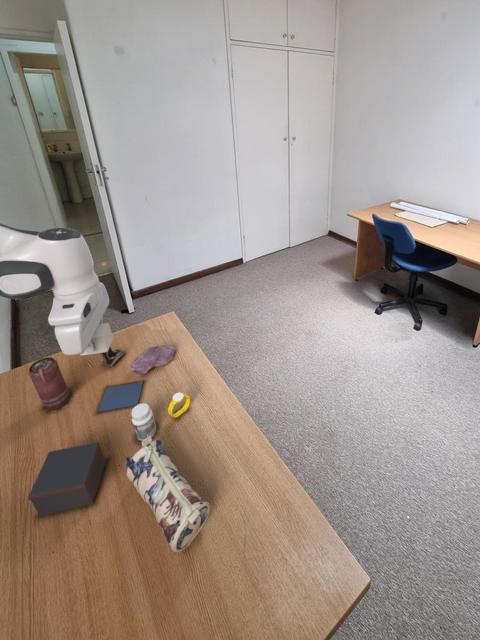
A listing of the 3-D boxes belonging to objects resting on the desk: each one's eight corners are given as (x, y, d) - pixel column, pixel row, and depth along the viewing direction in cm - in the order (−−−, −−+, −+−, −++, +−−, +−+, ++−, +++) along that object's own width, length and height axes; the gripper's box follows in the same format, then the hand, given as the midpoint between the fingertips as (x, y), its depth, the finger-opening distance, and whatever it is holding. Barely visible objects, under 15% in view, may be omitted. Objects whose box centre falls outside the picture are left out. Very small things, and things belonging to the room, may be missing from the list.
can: (46, 416, 88) (28, 378, 82) (43, 400, 92) (26, 363, 86) (72, 403, 91) (57, 366, 85) (68, 388, 95) (53, 352, 90)
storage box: (39, 516, 67) (27, 497, 64) (58, 470, 75) (48, 451, 72) (93, 504, 69) (84, 484, 66) (106, 460, 77) (99, 441, 74)
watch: (174, 423, 86) (170, 407, 83) (168, 417, 87) (164, 402, 85) (193, 407, 90) (190, 392, 88) (187, 402, 92) (184, 387, 89)
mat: (98, 412, 89) (97, 411, 89) (106, 388, 96) (106, 387, 96) (137, 405, 91) (137, 404, 91) (143, 382, 98) (143, 381, 98)
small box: (80, 355, 79) (74, 339, 76) (87, 341, 83) (82, 326, 81) (107, 351, 80) (102, 336, 78) (113, 338, 84) (108, 322, 82)
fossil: (126, 370, 102) (123, 358, 100) (168, 346, 112) (165, 333, 110) (139, 384, 97) (136, 371, 95) (181, 356, 107) (179, 344, 105)
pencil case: (127, 482, 73) (117, 455, 69) (163, 453, 79) (156, 426, 75) (179, 568, 60) (171, 540, 56) (218, 526, 66) (212, 498, 62)
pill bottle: (136, 427, 85) (129, 405, 81) (156, 421, 86) (150, 398, 83) (136, 444, 81) (129, 421, 77) (156, 437, 82) (150, 414, 79)
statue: (127, 354, 108) (112, 305, 100) (111, 370, 102) (94, 319, 93) (116, 352, 109) (101, 303, 100) (99, 368, 103) (82, 317, 94)
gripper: (81, 273, 83) (95, 317, 89) (43, 325, 65) (64, 375, 71) (108, 271, 85) (120, 314, 90) (78, 320, 67) (96, 370, 72)
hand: (95, 341), depth 81 cm, fingers closed on small box, 5 cm apart
